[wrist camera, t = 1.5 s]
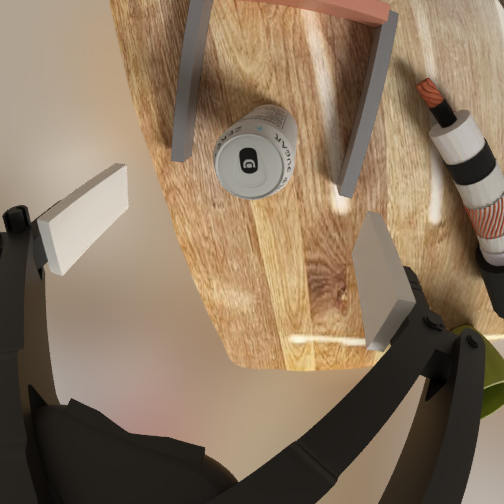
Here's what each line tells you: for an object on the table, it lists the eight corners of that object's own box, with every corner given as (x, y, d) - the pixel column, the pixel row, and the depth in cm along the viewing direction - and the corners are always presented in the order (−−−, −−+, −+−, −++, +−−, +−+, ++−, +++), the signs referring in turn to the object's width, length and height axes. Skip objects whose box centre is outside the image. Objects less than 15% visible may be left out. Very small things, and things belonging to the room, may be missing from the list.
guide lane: (203, -16, 23) (188, -27, 19) (391, 17, 22) (404, 10, 18) (180, 153, 35) (164, 166, 31) (348, 188, 35) (354, 206, 31)
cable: (417, 76, 29) (469, 53, 19) (510, 263, 36) (553, 277, 26) (373, 114, 29) (428, 91, 19) (480, 307, 37) (524, 330, 27)
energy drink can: (247, 154, 34) (213, 208, 22) (242, 105, 31) (200, 129, 19) (298, 152, 33) (295, 207, 21) (295, 102, 30) (291, 122, 18)
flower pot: (455, 301, 41) (486, 379, 28) (503, 316, 41) (531, 381, 28) (410, 355, 50) (423, 428, 37) (460, 363, 50) (476, 425, 37)
